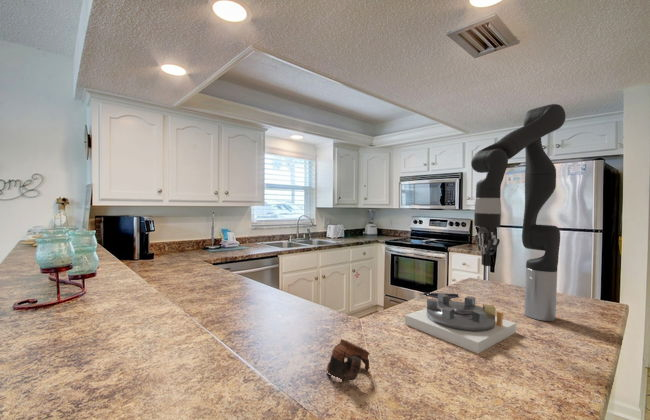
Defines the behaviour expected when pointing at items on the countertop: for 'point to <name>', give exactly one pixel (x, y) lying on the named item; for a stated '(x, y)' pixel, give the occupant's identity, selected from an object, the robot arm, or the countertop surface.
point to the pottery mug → (353, 360)
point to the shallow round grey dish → (461, 314)
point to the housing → (465, 339)
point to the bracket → (441, 293)
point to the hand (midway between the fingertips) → (485, 265)
